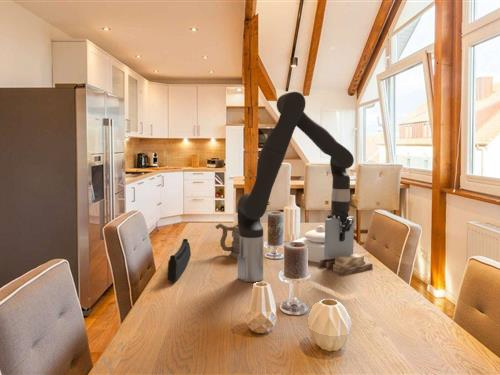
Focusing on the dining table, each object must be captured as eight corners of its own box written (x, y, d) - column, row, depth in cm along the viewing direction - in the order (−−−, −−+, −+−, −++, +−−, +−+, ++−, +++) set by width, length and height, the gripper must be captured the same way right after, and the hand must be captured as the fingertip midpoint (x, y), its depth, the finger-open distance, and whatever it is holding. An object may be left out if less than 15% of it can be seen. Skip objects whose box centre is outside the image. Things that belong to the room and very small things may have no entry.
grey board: (328, 258, 173) (329, 220, 171) (324, 257, 175) (325, 219, 173) (353, 254, 180) (354, 217, 178) (349, 252, 182) (350, 216, 180)
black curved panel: (174, 263, 156) (188, 224, 184) (165, 263, 156) (181, 224, 184) (177, 300, 163) (191, 257, 190) (169, 300, 163) (184, 257, 190)
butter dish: (328, 268, 180) (328, 231, 178) (292, 260, 191) (292, 226, 189) (346, 258, 194) (347, 224, 192) (311, 252, 205) (312, 220, 203)
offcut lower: (339, 273, 168) (340, 266, 167) (333, 270, 171) (333, 264, 171) (365, 267, 175) (365, 261, 175) (358, 265, 178) (358, 259, 178)
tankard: (259, 251, 205) (259, 221, 204) (256, 259, 193) (256, 226, 191) (218, 250, 208) (218, 220, 206) (213, 257, 195) (213, 225, 193)
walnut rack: (340, 279, 165) (340, 268, 164) (317, 269, 177) (317, 259, 176) (373, 271, 174) (373, 261, 173) (348, 263, 186) (349, 253, 185)
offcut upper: (341, 266, 168) (342, 260, 168) (335, 264, 171) (335, 258, 171) (363, 262, 174) (363, 256, 174) (356, 259, 178) (356, 253, 177)
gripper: (322, 198, 179) (321, 238, 181) (345, 202, 167) (344, 245, 169) (335, 196, 183) (334, 236, 185) (359, 200, 171) (358, 242, 173)
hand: (339, 240), depth 177 cm, fingers closed on grey board, 2 cm apart
